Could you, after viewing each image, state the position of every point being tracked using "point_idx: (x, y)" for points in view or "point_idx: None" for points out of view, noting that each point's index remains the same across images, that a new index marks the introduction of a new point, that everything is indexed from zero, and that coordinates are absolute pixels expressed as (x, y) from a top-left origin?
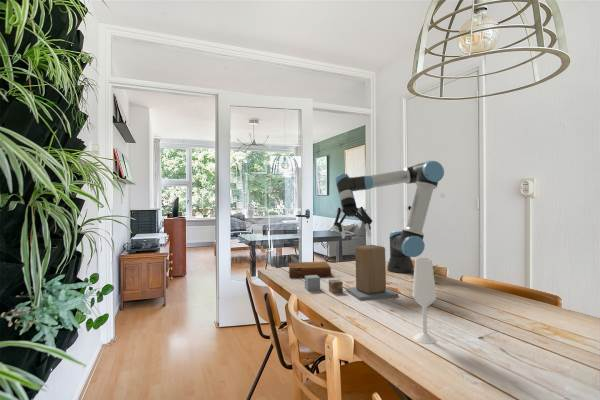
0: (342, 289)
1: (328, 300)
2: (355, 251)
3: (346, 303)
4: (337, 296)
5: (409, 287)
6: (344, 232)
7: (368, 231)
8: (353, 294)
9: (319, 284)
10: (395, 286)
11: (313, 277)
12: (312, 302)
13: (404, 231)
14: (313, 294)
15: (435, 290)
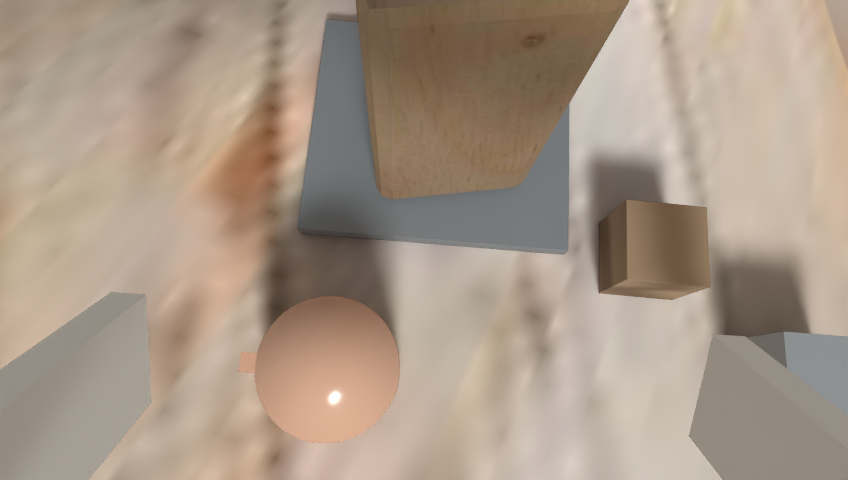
0: (607, 217)
1: (729, 107)
2: (613, 24)
3: (651, 29)
4: (657, 158)
5: (119, 174)
6: (771, 382)
7: (97, 351)
8: (566, 126)
9: (754, 336)
10: (187, 231)
11: (836, 350)
12: (822, 105)
13: None
14: (790, 251)
15: None
